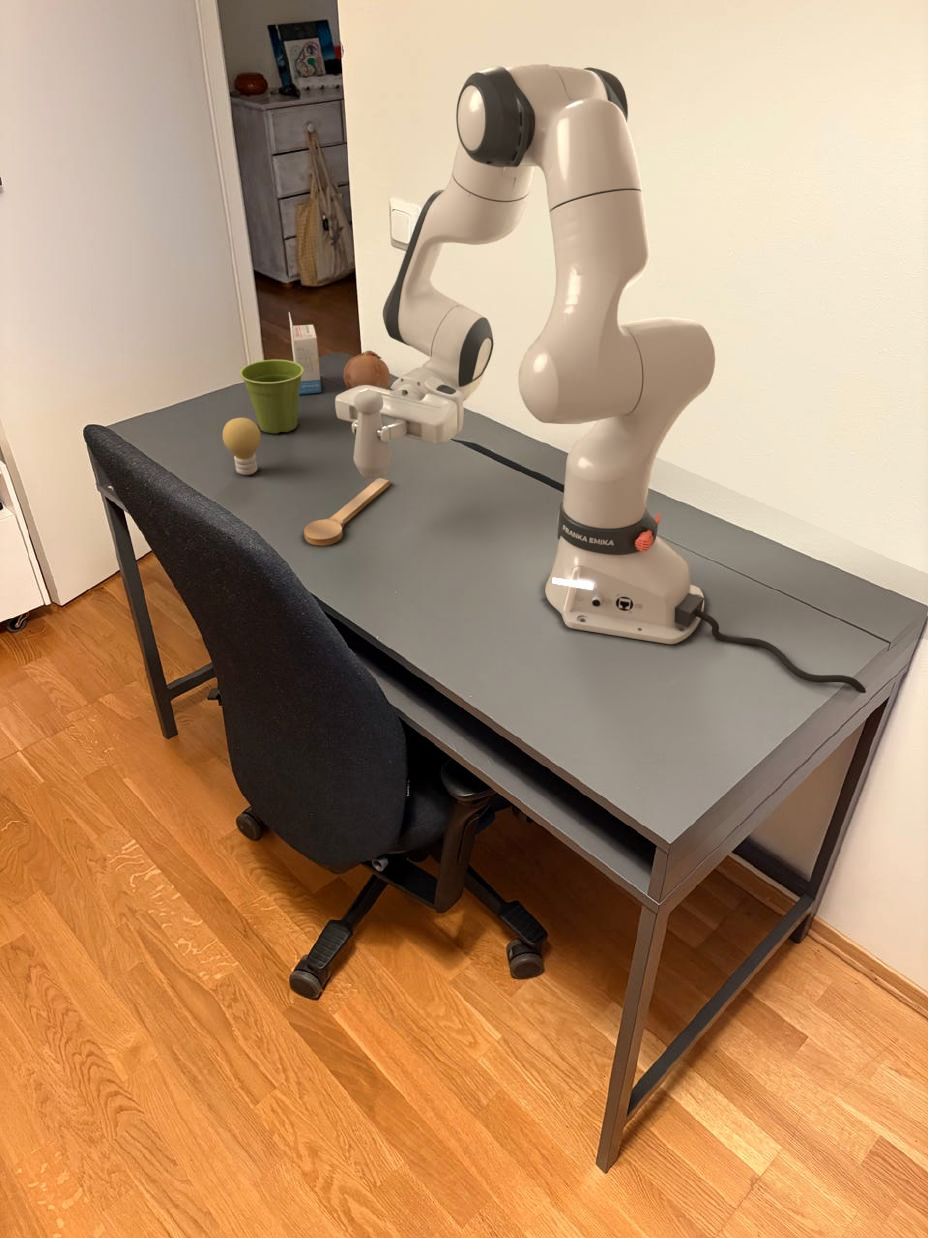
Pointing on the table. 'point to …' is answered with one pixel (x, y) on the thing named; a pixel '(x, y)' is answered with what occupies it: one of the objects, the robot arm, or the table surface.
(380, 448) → the salt shaker
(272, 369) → the plant pot
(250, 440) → the light bulb
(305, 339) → the ink box
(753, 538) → the table surface
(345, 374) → the onion
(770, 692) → the table surface
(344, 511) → the wooden spoon
